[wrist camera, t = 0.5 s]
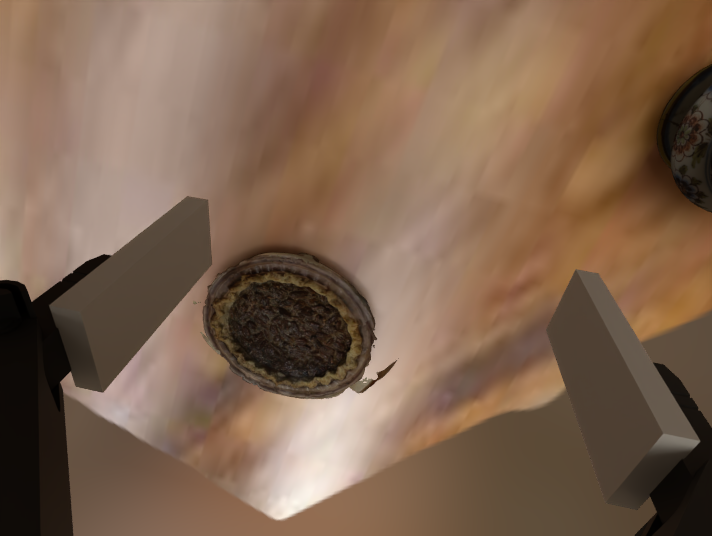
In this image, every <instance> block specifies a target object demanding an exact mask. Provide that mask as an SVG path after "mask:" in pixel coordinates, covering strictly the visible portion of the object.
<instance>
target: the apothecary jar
mask: <svg viewBox="0 0 712 536" xmlns="http://www.w3.org/2000/svg"><path fill="white" fill-rule="evenodd" d="M657 145H658V150H659V153H660V155H661V157H662V159H663V161H664V162H665V163H666V164H667V165H668V166H669V167H670V168H671V169H672V173H673V177H674V180H675V182H676V184H677V186H678V188H679V189H680V191H681V192H682V193H683V194H684V195H685V196H686V197H687V198H688V199H689V200H690V201H691V202H692V203H694V204H695V205H697V206H698V207H700V208H702V209H704V210H706V211H709V212H711V213H712V64H711V65H709V66H707V67H706V68H704V69H702V70H701V71H699V72H698V73H697V74H695V75H694V76H693V77H691V78H690V79H689V80H688V81H687V82H686V83H684V84H683V85H682V86H681V88H680V89H679V90H678V91H677V92H676V93H675V95H674V96H673V97H672V99H671V100H670V101H669V103H668V104H667V106H666V108H665V110H664V112H663V114H662V117H661V119H660V122H659V126H658V131H657Z"/></svg>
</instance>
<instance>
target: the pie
mask: <svg viewBox="0 0 712 536" xmlns="http://www.w3.org/2000/svg"><path fill="white" fill-rule="evenodd" d="M217 276H218V277H217V278H216V279H215V280H214V281H213V283H212V284H211V285H209V286H208V295H207V299H206V300H205V303H206V305H205V306H204V308H203V324H204V330H205V333H206V336H207V337H208V338H207V337H206V336H205V335H204V334H203V333H202V332H201V334H202V336H203V337H204V339H205V341H206V342H207V343H208V344H209V345H210V346H211V347H212V348H213V349H214V350H215V351H216V352H217V353H218V354H220V355H221V356H222V357H224V358H225V359H226V360H227V361H228V362H229V364H230V369H231V370H232V372H234V373H235V374H237V375H239V376H241V377H243V380H245V381H246V382H247V383H253V385H258V387H259V388H260V389H263V390H264V391H269V392H272V393H276V394H280V395H285V396H288V397H295V398H301V399H323V398H328V399H329V398H332V397H336V396H338V395H339V394H341V393H343V392H344V391H345V389H347V388H348V387H350V388H351V389H352V390H353V391H355V392H357V393H363V392H364V391H366V390H367V389H368V388H369V387H371V386H372V385H373V384H374V383H375V382H376V381H377V380H379V379H381V378H383V377H384V376H385V375H386V374H387V373H388V372H389V370H390V369H391V368H392V367H393V366H394V364H395V363H396V361H397V360H396V361H395V362H394V363H392V364H391V365H389V366H388V367H387V368H386V369H385V370H383V371H381V372H377V375H378V378H377V379H376V380H372V379H368V380H367V378H365V379H363V381H359V380H361V379H362V377H363V375H364V372H365V367H366V366H368V365H369V362H370V360H371V353H370V352H371V346H372V344H373V343H374V340H377V338H376V337H375V335H374V333H373V330H375V329H374V328H375V320H374V317H373V315H372V313H371V310H370V307H369V305H368V303H367V301H366V300H365V299H364V298H363V297H362V296H361V295H360V294H359V293H358V292H357V291H356V289H355V288H354V287H353V286H352V285H351V284H350V283H349V282H348V281H347V280H346V279H344V278H343V277H341V276H340V275H338V274H337V273H335V272H334V271H333V270H331V269H330V268H328V267H326V266H324V265H322V264H320V263H319V260H318V259H317V258H315V257H314V256H311V255H308V254H305V253H299V254H297V255H296V254H289V253H264V254H260V255H257V256H254V257H252V258H251V259H248V260H244V261H241V262H240V263H239V265H238V266H234V267H230V268H228V269H227V271H226V272H223V273H222V274H217ZM193 303H194V304H197V303H196V302H195V301H193ZM198 303H199V302H198ZM200 303H201V302H200ZM373 347H374V348H375V345H373ZM364 381H367V383H363V382H364Z"/></svg>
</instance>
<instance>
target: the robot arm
mask: <svg viewBox="0 0 712 536" xmlns="http://www.w3.org/2000/svg"><path fill="white" fill-rule="evenodd" d="M211 265H212V256H211V240H210V224H209V208H208V200H205V199H200V198H195V197H189V196H187V197H186V198H185V199H183V200H182V201H181V202H180V203H178V204H177V205H176V206H175V207H173V208H172V209H171V210H169V211H168V212H167V213H166V214H164V215H163V216H162V217H161V218H159V219H158V220H157V221H155V222H154V223H153V224H152V225H150V226H149V227H148V228H147V229H145V230H144V231H143V232H141V233H140V234H139V235H138V236H136V237H135V238H134V239H133V240H131V241H130V242H129V243H128V244H126V245H125V246H124V247H122V248H121V249H120V250H119V251H117V252H116V253H115V254H114V255H112V256H110V255H105V254H103V255H101V256H98V257H96V258H94V259H91V260H89V261H86V262H85V263H84V264H82V265H81V266H80V267H78V268H77V269H76V270H74V271H73V273H70V274H69V275H67V276H66V277H65V278H63V280H62V282H61V281H59V282H58V283H57V284H55V285H54V286H53V287H51V288H50V289H49V290H47V291H46V292H45V293H43V294H42V295H41V296H39V297H38V298H37V299H35V300H34V301H33V302H31V299H30V297H29V294H28V291H27V289H26V287H25V285H24V284H22V283H20V282H18V281H10V280H1V281H0V536H73V524H72V511H71V496H70V482H69V468H68V454H67V441H66V426H65V413H64V400H63V389H62V386H61V384H60V381H61V380H62V379H63V378H64V377H65V376H66V375H67V374H68V373H69V372H70V371H71V373H72V377H73V380H74V383H75V386H76V387H80V388H84V389H89V390H93V391H98V392H104V391H105V390H106V389H107V387H108V386H109V385H110V384H111V383H112V381H113V380H114V379H115V378H116V377H117V376H118V374H119V373H120V372H121V371H122V370H123V368H124V367H125V366H126V365H127V364H128V363H129V361H130V360H131V359H132V358H133V357H134V355H135V354H136V353H137V352H138V351H139V350H140V348H141V347H142V346H143V345H144V344H145V342H146V341H147V340H148V339H149V338H150V337H151V335H152V334H153V333H154V332H155V331H156V330H157V328H158V327H159V326H160V325H161V324H162V322H163V321H164V320H165V319H166V318H167V317H168V315H169V314H170V313H171V312H172V311H173V309H174V308H175V307H176V306H177V305H178V304H179V302H180V301H181V300H182V299H183V298H184V296H185V295H186V294H187V293H188V292H189V291H190V289H191V288H192V287H193V286H194V285H195V283H196V282H197V281H198V280H199V279H200V278H201V276H202V275H203V274H204V273H205V272H206V271H207V269H208V268H209V267H210V266H211ZM546 331H547V334H548V337H549V340H550V343H551V346H552V349H553V352H554V355H555V357H556V360H557V363H558V366H559V369H560V372H561V375H562V378H563V381H564V384H565V386H566V389H567V392H568V395H569V398H570V401H571V404H572V407H573V410H574V413H575V416H576V418H577V421H578V424H579V427H580V430H581V433H582V436H583V439H584V442H585V444H586V447H587V450H588V453H589V456H590V459H591V462H592V465H593V468H594V471H595V474H596V477H597V479H598V482H599V485H600V488H601V491H602V493H603V497H604V500H605V503H608V504H612V505H617V506H622V507H626V508H630V509H635V510H638V508H640V506H641V505H642V504H643V503H644V502H645V501H646V500H647V499H648V498H649V497H651V499H652V502H653V504H654V506H655V508H656V511H657V513H656V514H655V515H654V516H653V517H652V518H651V519H650V520H649V521H648V522H647V523H646V524H645V525H644V526H643V527H642V528H641V529H640V530H639V531H638V532H637V533H636V534H635V536H712V428H711V426H710V425H709V423H708V422H707V420H706V419H705V417H704V416H703V414H702V413H701V411H698V406H697V405H696V404H695V402H694V400H693V399H692V398H690V394H689V393H688V391H687V390H686V388H685V387H684V385H683V384H682V382H681V380H680V379H679V378H678V377H677V376H675V375H674V374H673V373H672V372H671V371H670V370H669V369H668V368H667V367H666V366H665V365H663V364H658V363H653V362H652V361H651V359H650V358H649V356H648V354H647V353H646V351H645V349H644V348H643V346H642V344H641V343H640V341H639V339H638V338H637V336H636V334H635V333H634V331H633V329H632V328H631V326H630V325H629V323H628V321H627V320H626V318H625V316H624V315H623V313H622V311H621V310H620V308H619V307H618V305H617V303H616V302H615V300H614V298H613V297H612V295H611V293H610V292H609V290H608V288H607V287H606V285H605V284H604V282H603V280H602V279H601V277H600V275H599V274H598V273H593V272H587V271H582V270H577V269H576V270H575V272H574V274H573V276H572V278H571V280H570V282H569V284H568V286H567V288H566V290H565V292H564V294H563V296H562V298H561V301H560V303H559V305H558V307H557V309H556V311H555V313H554V315H553V317H552V319H551V321H550V323H549V325H548V327H547V329H546Z"/></svg>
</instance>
